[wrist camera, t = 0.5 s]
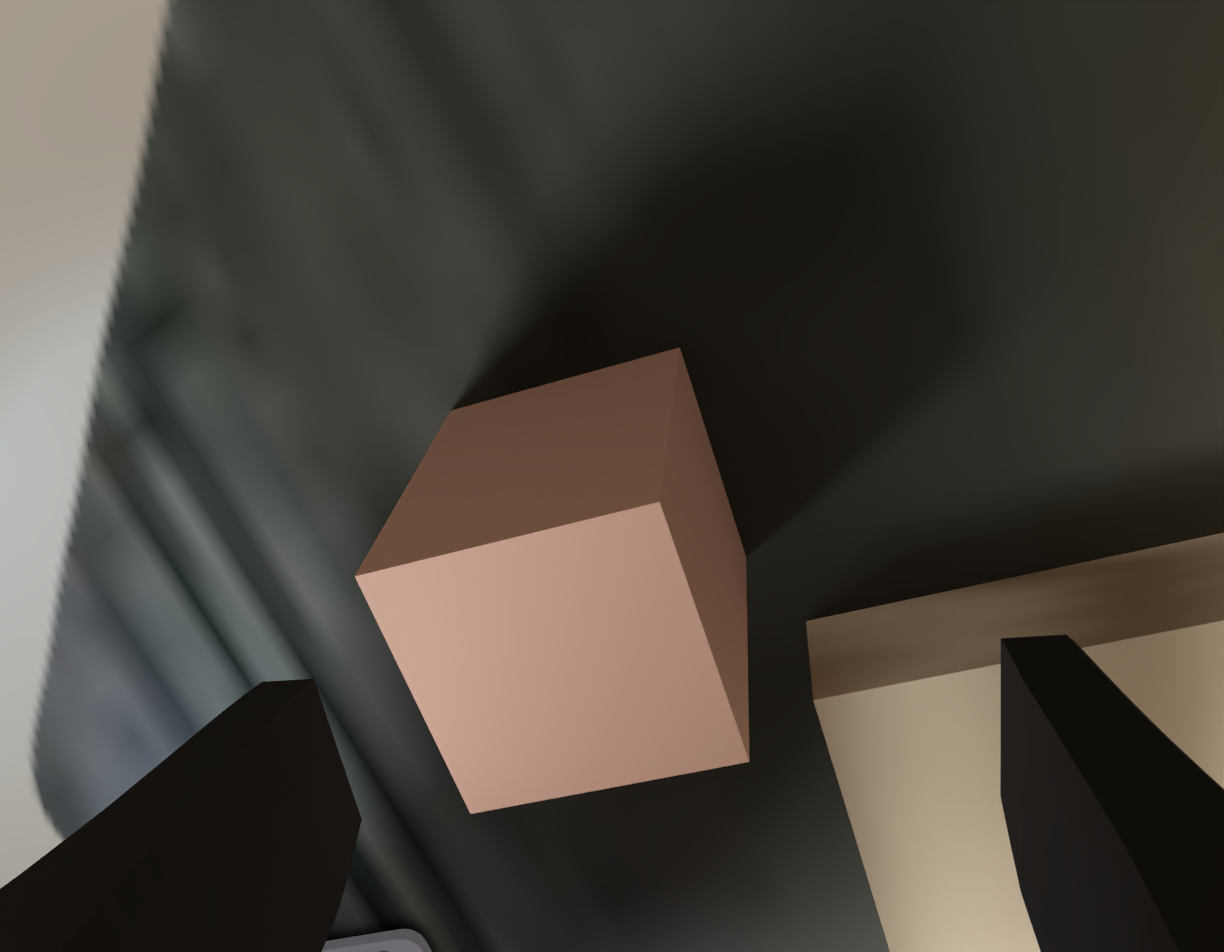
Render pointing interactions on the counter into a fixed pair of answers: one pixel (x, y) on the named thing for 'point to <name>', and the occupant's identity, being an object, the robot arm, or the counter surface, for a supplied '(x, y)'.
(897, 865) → the oak block
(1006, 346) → the counter surface
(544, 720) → the pinkish brown block
